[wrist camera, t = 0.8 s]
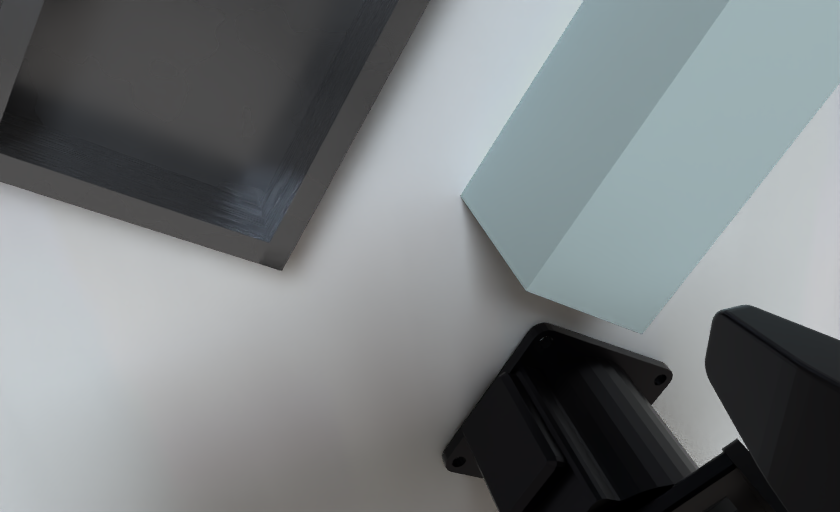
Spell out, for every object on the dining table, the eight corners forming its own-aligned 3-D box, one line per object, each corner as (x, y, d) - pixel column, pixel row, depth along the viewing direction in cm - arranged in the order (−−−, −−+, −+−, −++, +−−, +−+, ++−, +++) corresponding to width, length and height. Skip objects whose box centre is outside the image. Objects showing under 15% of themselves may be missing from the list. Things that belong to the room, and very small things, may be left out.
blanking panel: (723, -230, 18) (885, -222, 14) (822, -137, 20) (987, -106, 16) (458, 192, 23) (525, 290, 19) (560, 236, 25) (642, 334, 21)
